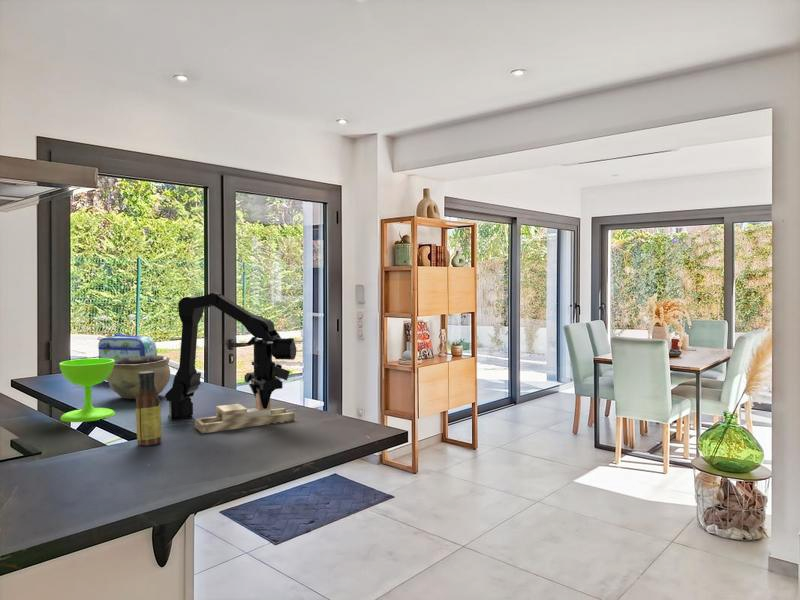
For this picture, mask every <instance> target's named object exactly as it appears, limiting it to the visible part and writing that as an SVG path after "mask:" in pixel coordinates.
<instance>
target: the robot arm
mask: <svg viewBox="0 0 800 600" xmlns="http://www.w3.org/2000/svg"><path fill="white" fill-rule="evenodd" d="M210 307H214V308H216V309H217V310H220V312H223V313H225V314H226V315H227V316H229V317H230V318H231V319H234V321H237V322H239V323H240V324H241V325H242V326H244V328H245V329H246V331H247V332H249V333H250V335H252V336H253V337H251V338H250V339H249V341H248V342H246V344H247V345H249V346H253V361H251V365H252V366H253V371H252V372H247V373H245V375H244V382H245V383H249V384H248V386H249V388H250V389H251V392H252V393H253V396H254V398H255V399H256V393H258V394H259V397H260V401H261V404H262V406H263V409H266V408H267V406H268V403H269V400H270V401H271V396H272V393H273V392H274V391H276V390H281V389H283V388H284V387H283V385H284V384H283V381H282V380H284V381H288V379H289V376H290V374H291V373H290V372H291V370H287V369H285V368H283V367H282V365H281V364H279V363H275V362H274V361H273V358H275V360H290V361H291V360H293V361H294V360H295V359H296V355H297V347H296V342H295V339H294V337H289V338H286V337H285V338H282V337H281V336H280V334H279V333H278V331H277V330H276V328H275V324H274V321H272V320H271V319H268V318H266V317H264V316H262V315H257V314H255V313H251V312H250V311H249V310H246V308H244V307H242V306H240V305H238V304H237V303H235V302H234V301H232V300H230V299H229V298H227V297H225V295H223V294H222V293H221V292H210V293H209V294H205V295H200V296H185V297H182V298H181V299H179V301H178V304H177V309H178V317H179V319H180V322H181V324H182V325H181V338H180V339H181V341H180V354H179V367H178V369H177V371H176V373H175V375H174V378H173V381H172V385H171V386H172V387H171V388H170V389H169V390H168V391H167V392H166V393H165V394H164V397H165V400H166V401H167V402H168V403H169V404H168V405H169V407H168V409H169V410H168V411H169V413H168V414H167V417H168V418H169V419H170V420H171V421H176V420H178V419H179V420H185V419H186V418H187V419H193V418H194V417H193V415H194V403H193V402H192V397H194V395H195V392H196V391H197V390H198V389H199V388H200V387H199V386H200V385H202V382H201V377H202V372H198V371H197V369H196V359H197V358H196V357H197V355H196V354H197V342H198V332H199V331H198V328H199V323H200V320H201V319H202V317H203V314H204V311H205V309H207V308H210ZM276 377H277V378H276ZM281 379H282V380H281Z"/></svg>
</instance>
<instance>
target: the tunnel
mask: <svg viewBox="0 0 800 600" xmlns="http://www.w3.org/2000/svg"><path fill="white" fill-rule="evenodd" d="M247 409H248V408H247V407H245V406H243V405H241V404H240V403H235V404H234V403H233V404H224V405H216V406H215V415H216V416H208V417H200V418H194V428H195V429H197V431H199V432H200V433H201V434H207V433H216V432H223V431H229V430H236V429H243V428H251V427H256V426H257V427H258V426H264V425H265V424H266V425H270V423H273V424H278V423H277V422H280V423H285V422H284V421H287V422H292V421H291V420H294V421H295V412H293V411H290V412H286V410H287V409H286V407H282V408H274V409H273V408H270V409H271V415H267V416H259V417H252V418H247ZM222 414H223V421H222Z"/></svg>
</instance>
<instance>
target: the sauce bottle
mask: <svg viewBox="0 0 800 600" xmlns="http://www.w3.org/2000/svg"><path fill="white" fill-rule="evenodd" d="M154 377H155V373H154V371H144V372H139V379H140V386H139V387H140V390H139V392H138V394H137V396H136V399H135V419H136V440H137V445H139V446H142V447H148V446H149V447H150V446H155V445H158V444H160V443H161V442H162V434H163V432H162V416H161V415H162V413H161V412H162V411H161V399H160V396H159V394H157V391H156V388H155V385H154Z"/></svg>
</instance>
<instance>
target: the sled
mask: <svg viewBox="0 0 800 600" xmlns="http://www.w3.org/2000/svg"><path fill="white" fill-rule="evenodd" d="M271 409H272V408H271V399H270V400H269V403H268V406H267V408H266V409H263V406H262V404H261V401H260V397H259V394H258V393H256V398H255V407H253V408H247V418H252V417H259V416H267V415H271ZM222 421H223V414H222Z"/></svg>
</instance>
